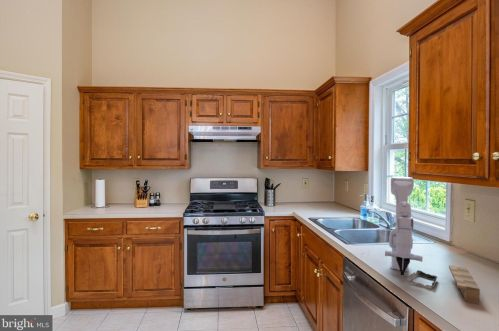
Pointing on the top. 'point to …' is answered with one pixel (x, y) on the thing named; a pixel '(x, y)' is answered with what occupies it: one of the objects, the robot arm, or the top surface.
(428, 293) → the top surface
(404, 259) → the robot arm
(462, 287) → the brown ridged block
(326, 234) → the top surface
